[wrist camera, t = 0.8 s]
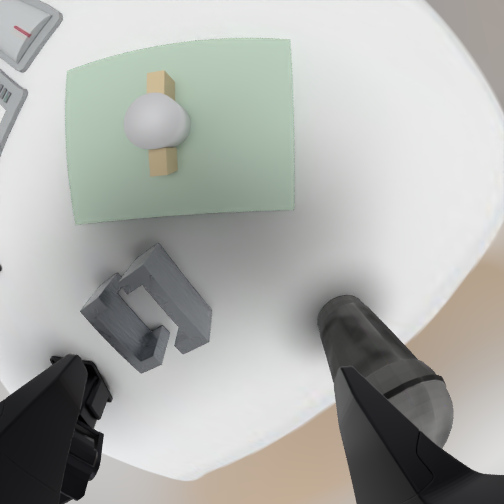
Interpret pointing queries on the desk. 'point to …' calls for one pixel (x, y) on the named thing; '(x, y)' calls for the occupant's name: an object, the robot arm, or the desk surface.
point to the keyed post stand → (182, 130)
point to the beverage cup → (385, 365)
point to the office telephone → (21, 50)
